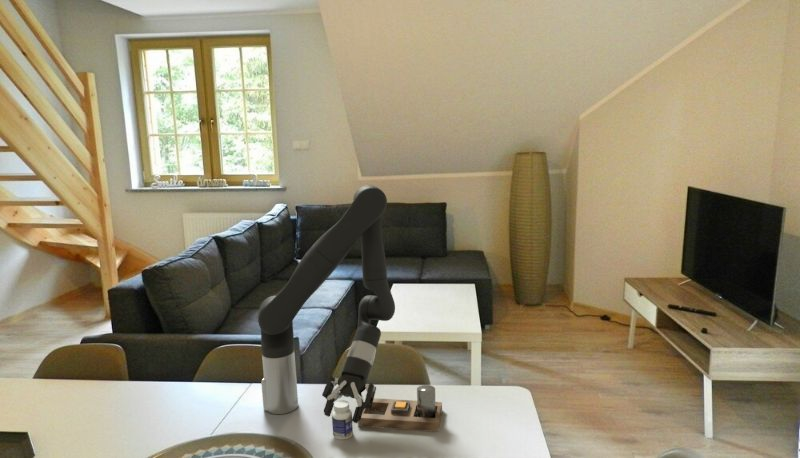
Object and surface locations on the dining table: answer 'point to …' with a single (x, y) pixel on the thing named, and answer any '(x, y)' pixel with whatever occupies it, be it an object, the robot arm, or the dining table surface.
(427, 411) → the cylinder
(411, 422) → the wooden compartment tray
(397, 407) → the button
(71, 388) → the dining table surface
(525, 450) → the dining table surface
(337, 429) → the pill bottle
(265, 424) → the dining table surface
